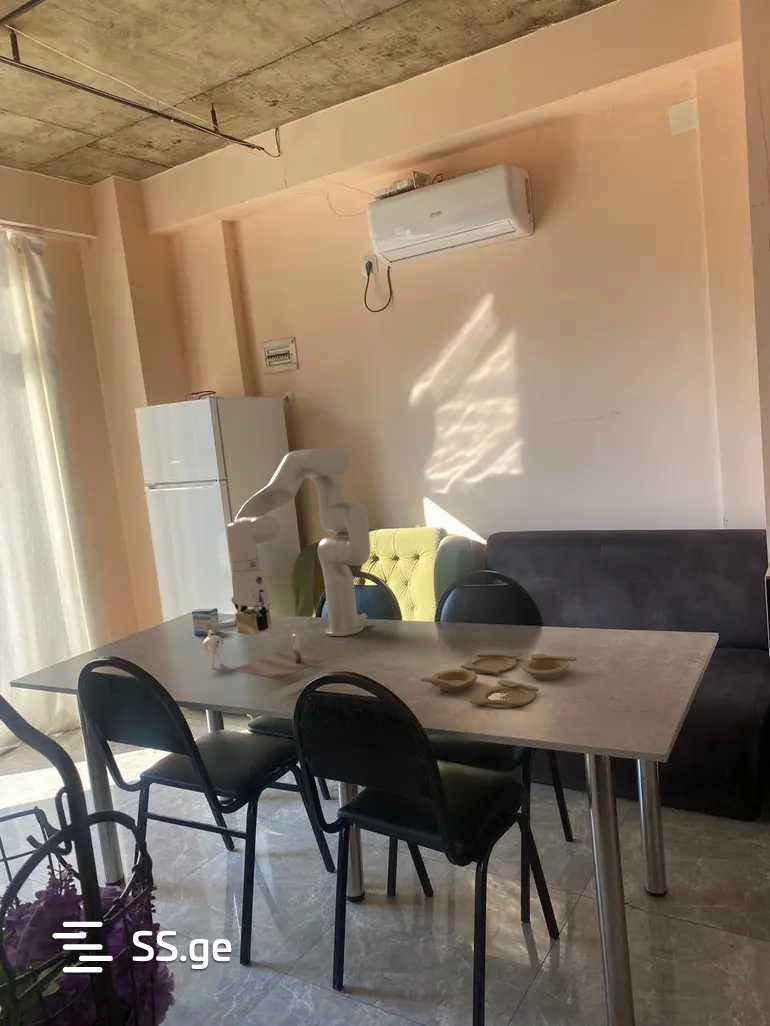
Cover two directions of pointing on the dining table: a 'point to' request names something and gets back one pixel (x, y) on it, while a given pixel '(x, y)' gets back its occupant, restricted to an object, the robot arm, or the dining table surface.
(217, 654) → the figurine
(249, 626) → the wooden cube
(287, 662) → the wooden peg base
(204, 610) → the medicine box
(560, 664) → the tableware set
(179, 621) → the dining table surface
